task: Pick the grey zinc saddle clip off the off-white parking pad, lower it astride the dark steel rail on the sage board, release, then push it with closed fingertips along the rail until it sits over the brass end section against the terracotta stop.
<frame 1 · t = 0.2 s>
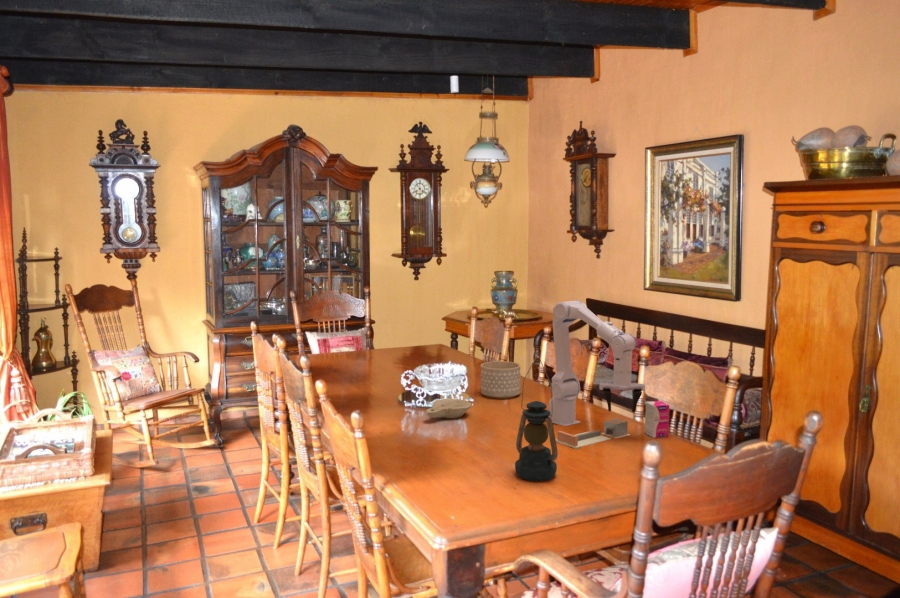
hand: (621, 411, 243), 9 cm above the table, fingers open, 7 cm apart
supplement box: (656, 436, 246), on the table
oil lamp: (446, 418, 271), on the table
clip: (615, 433, 248), resting on pad
pad: (615, 435, 248), on the table
planter: (500, 395, 305), on the table
rail board: (584, 440, 242), on the table
lantern: (535, 476, 209), on the table
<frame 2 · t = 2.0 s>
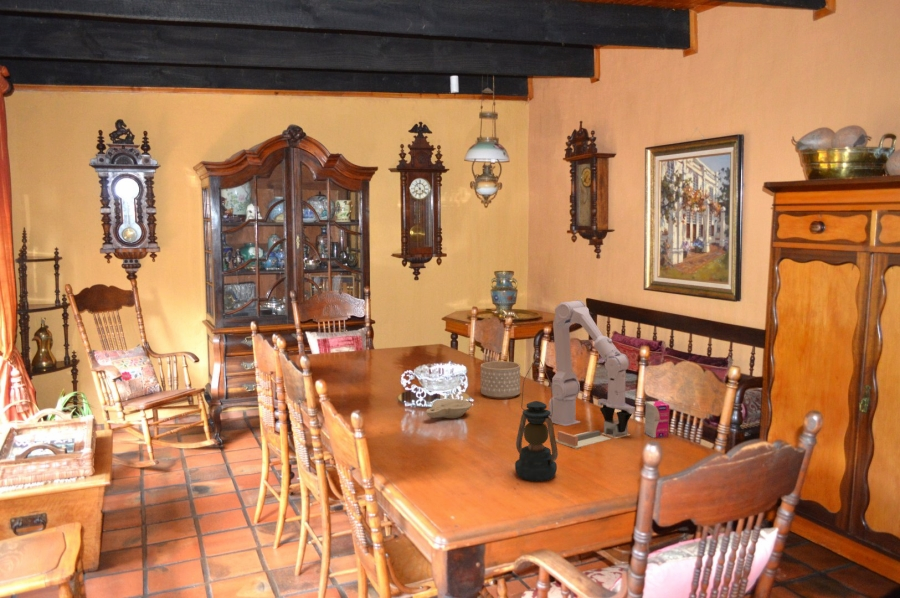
hand: (615, 429, 248), 2 cm above the table, fingers closed on clip, 5 cm apart
clip: (615, 433, 248), resting on pad, touching gripper
everything else where it was.
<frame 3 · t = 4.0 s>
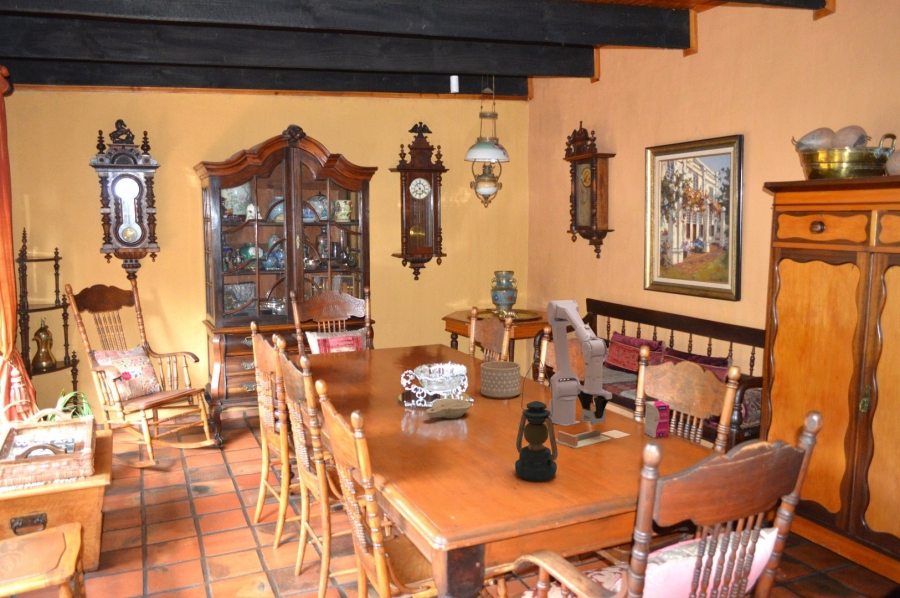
hand: (592, 416, 243), 8 cm above the table, fingers closed on clip, 5 cm apart
clip: (593, 421, 244), point 6 cm above the table, touching gripper
everything else where it was.
when the fingers open (2 cm above the table, at t = 5.8 s): clip stays where it is, resting on rail board.
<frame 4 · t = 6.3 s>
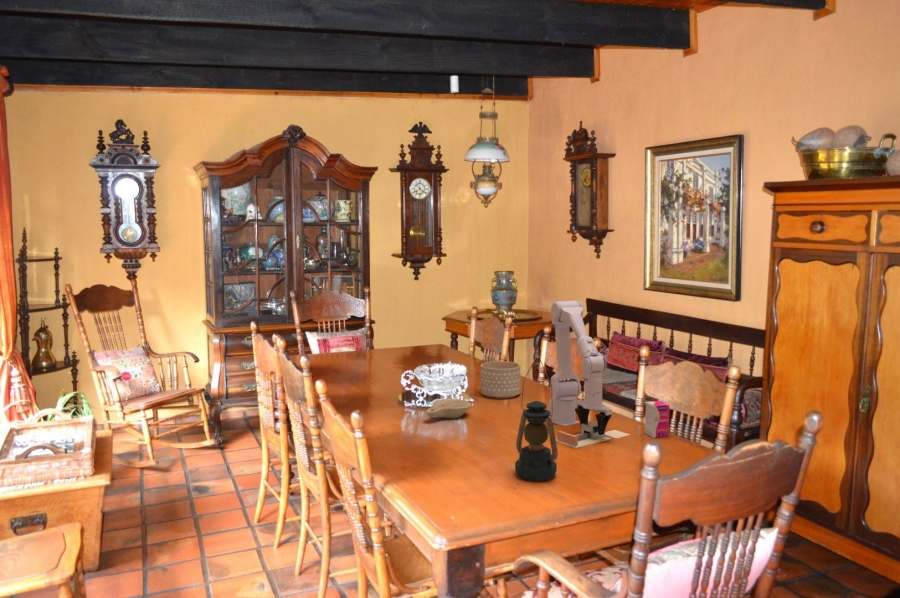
hand: (592, 431, 244), 2 cm above the table, fingers open, 7 cm apart
clip: (593, 436, 244), point 1 cm above the table, touching rail board
everything else where it was.
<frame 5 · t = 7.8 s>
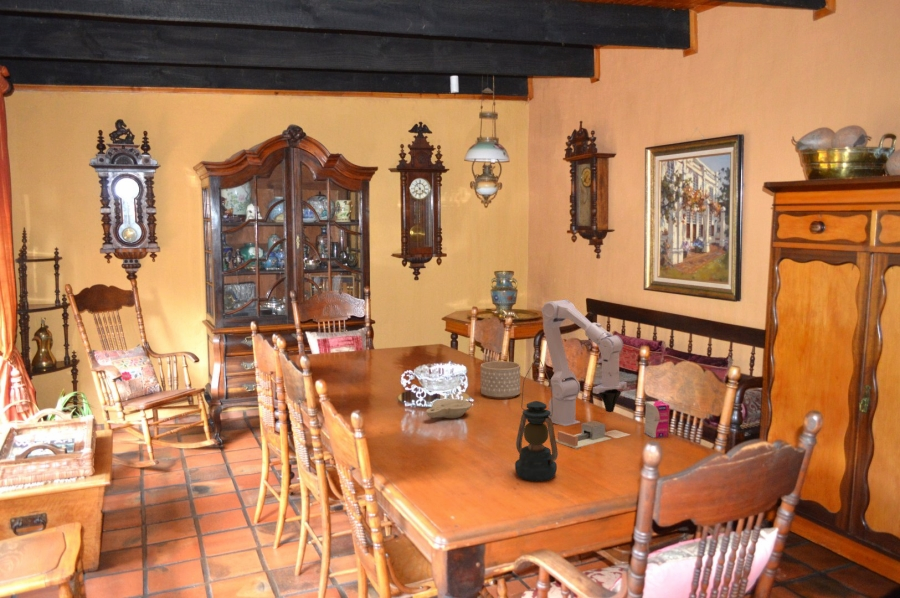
hand: (609, 411, 248), 8 cm above the table, fingers closed
nothing on the table moved.
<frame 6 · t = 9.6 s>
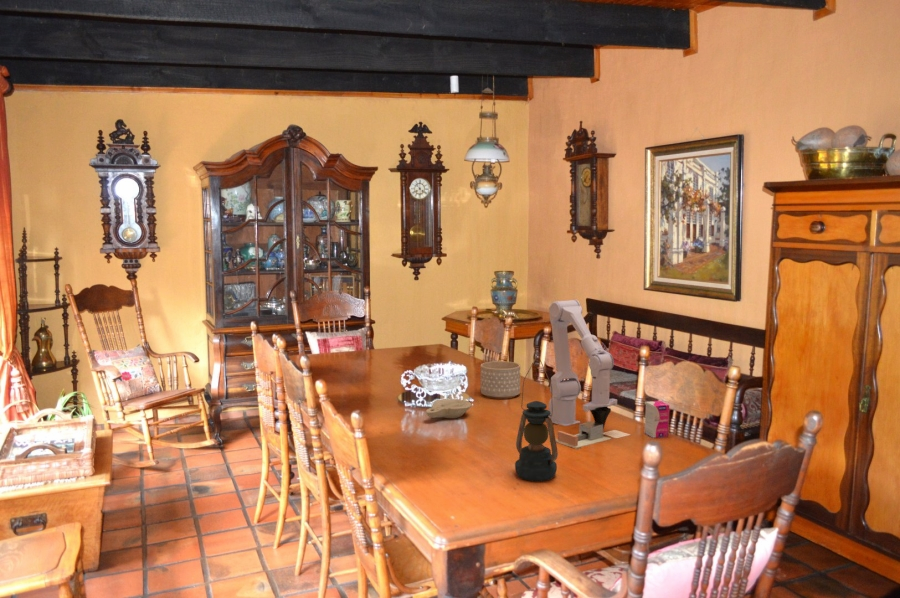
hand: (599, 429, 246), 3 cm above the table, fingers closed
clip: (590, 437, 244), point 1 cm above the table, touching gripper, rail board
everything else where it was.
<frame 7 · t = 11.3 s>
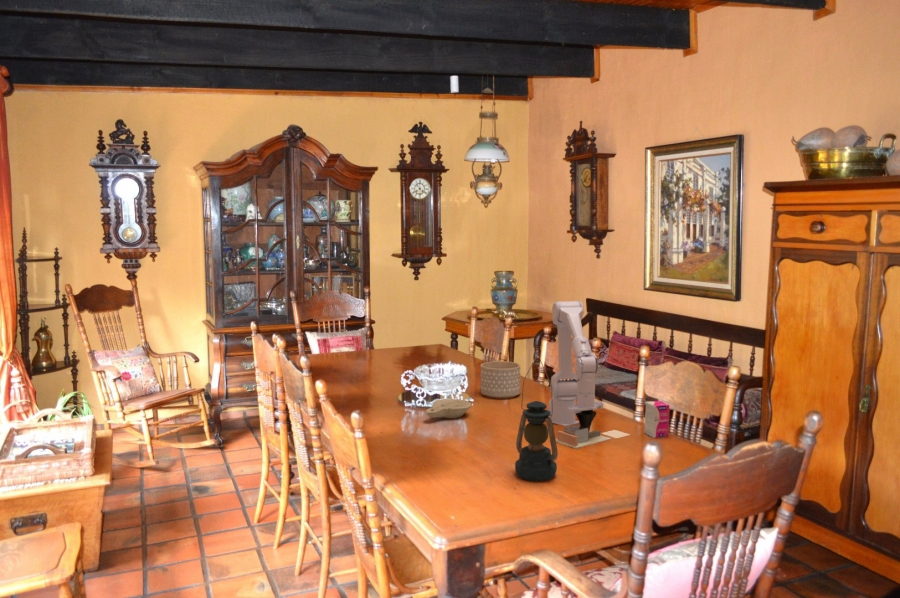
hand: (585, 432, 242), 3 cm above the table, fingers closed
clip: (575, 440, 240), point 1 cm above the table, touching gripper, rail board
everything else where it was.
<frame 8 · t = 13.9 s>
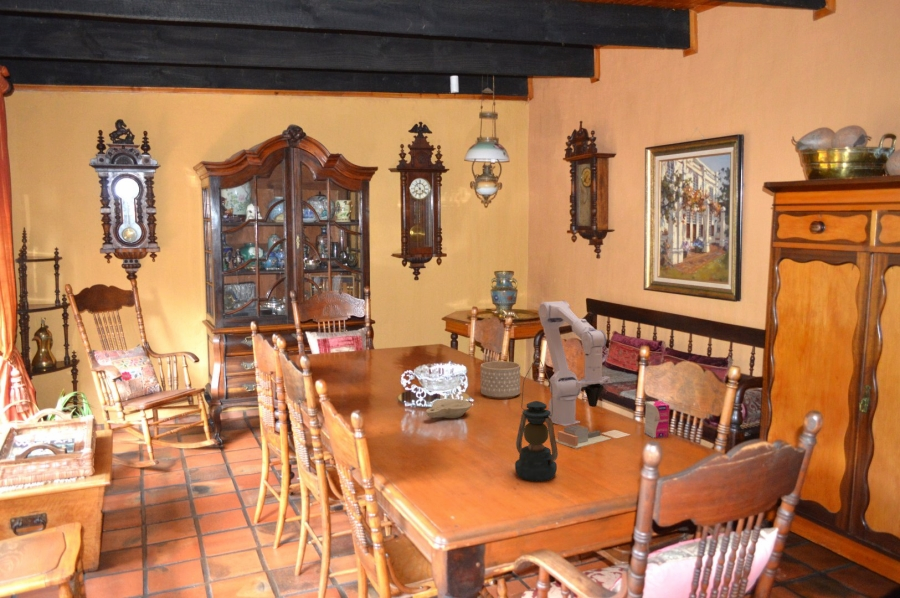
hand: (592, 406, 247), 10 cm above the table, fingers closed
clip: (575, 440, 240), point 1 cm above the table, touching rail board
everything else where it was.
at the end: clip 0.6 cm from the target spot, point 0.6 cm above the table; the gripper is holding nothing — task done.
